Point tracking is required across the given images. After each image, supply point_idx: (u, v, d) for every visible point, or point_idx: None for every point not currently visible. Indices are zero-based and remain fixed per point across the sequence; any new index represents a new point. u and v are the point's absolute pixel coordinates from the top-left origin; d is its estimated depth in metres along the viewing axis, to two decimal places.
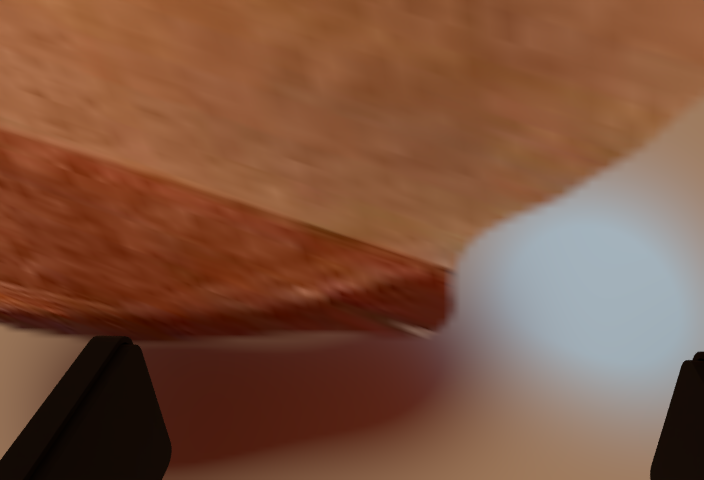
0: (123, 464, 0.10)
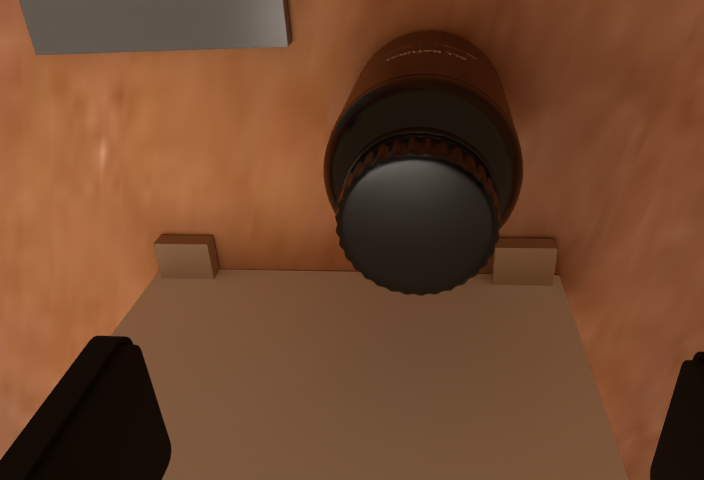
0: (123, 464, 0.10)
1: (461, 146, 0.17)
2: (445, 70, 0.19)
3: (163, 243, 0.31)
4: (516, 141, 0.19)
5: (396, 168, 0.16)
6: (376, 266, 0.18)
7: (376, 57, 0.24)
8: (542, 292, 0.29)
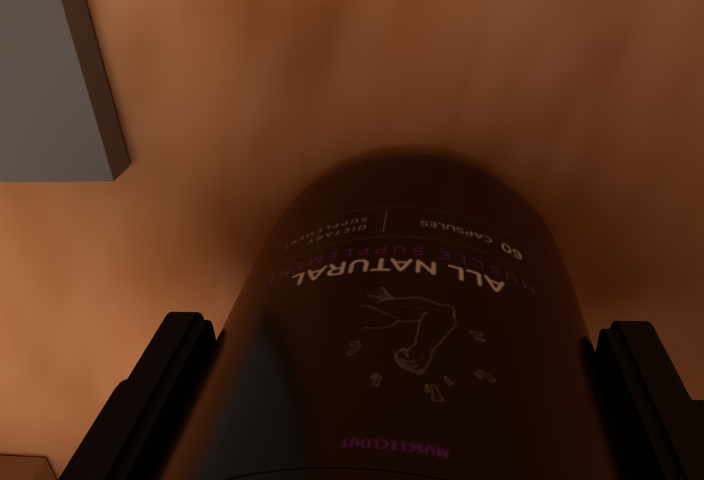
0: None
1: None
2: (453, 416, 0.06)
3: None
4: None
5: None
6: None
7: (289, 227, 0.11)
8: None
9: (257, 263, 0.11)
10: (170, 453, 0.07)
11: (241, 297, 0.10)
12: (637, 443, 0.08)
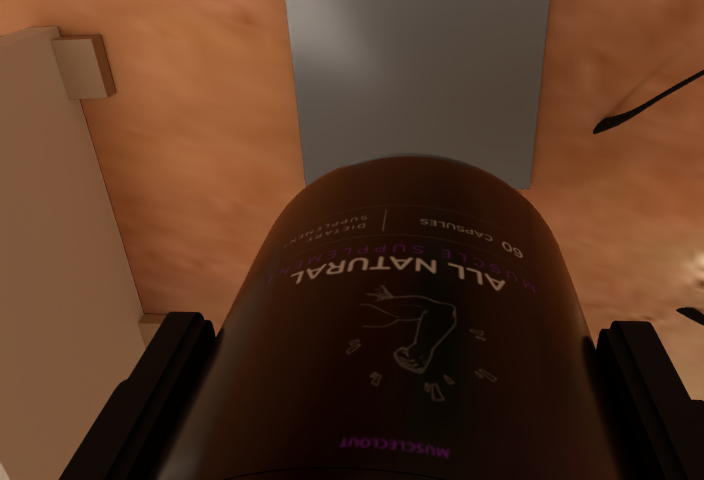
0: None
1: None
2: (454, 415, 0.06)
3: (95, 49, 0.29)
4: None
5: None
6: None
7: (289, 226, 0.10)
8: None
9: (256, 262, 0.11)
10: (168, 453, 0.07)
11: (240, 296, 0.10)
12: (637, 443, 0.08)
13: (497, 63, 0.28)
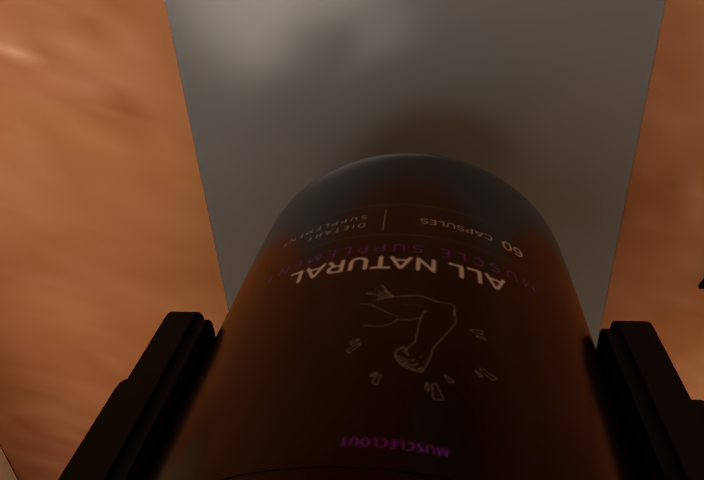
0: None
1: None
2: (454, 415, 0.06)
3: None
4: None
5: None
6: None
7: (288, 225, 0.10)
8: None
9: (256, 261, 0.11)
10: (168, 452, 0.07)
11: (240, 296, 0.10)
12: (637, 443, 0.08)
13: (548, 187, 0.16)
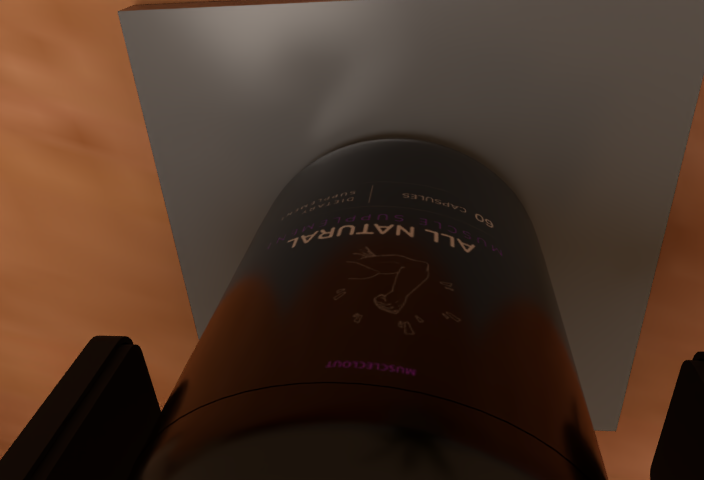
0: (123, 464, 0.10)
1: None
2: (421, 345, 0.07)
3: None
4: None
5: None
6: None
7: (285, 202, 0.12)
8: None
9: (256, 235, 0.12)
10: (180, 386, 0.08)
11: (242, 263, 0.11)
12: None
13: (570, 233, 0.14)
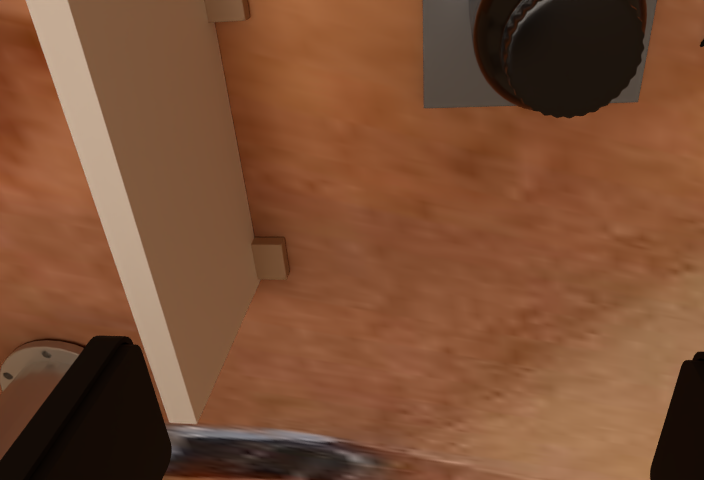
0: (123, 464, 0.10)
1: None
2: None
3: None
4: None
5: None
6: (535, 91, 0.22)
7: None
8: (253, 277, 0.42)
9: None
10: None
11: None
12: None
13: None
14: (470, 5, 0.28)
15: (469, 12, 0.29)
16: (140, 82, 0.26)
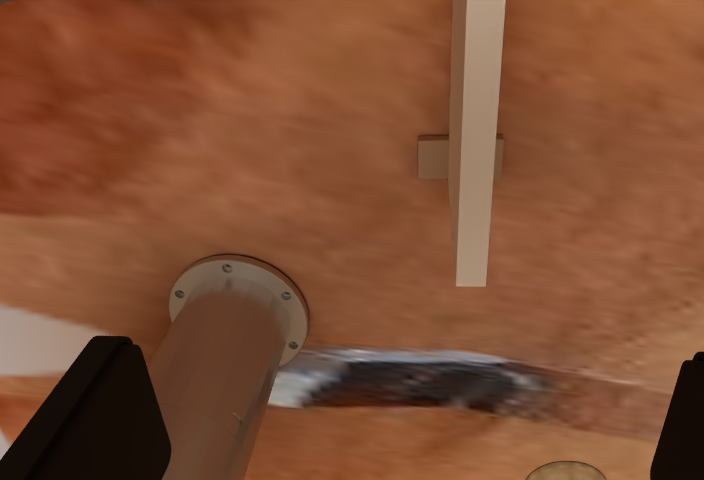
0: (123, 464, 0.10)
1: None
2: None
3: None
4: None
5: None
6: None
7: None
8: None
9: None
10: None
11: None
12: None
13: None
14: None
15: None
16: None
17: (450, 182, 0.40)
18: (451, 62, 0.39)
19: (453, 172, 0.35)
